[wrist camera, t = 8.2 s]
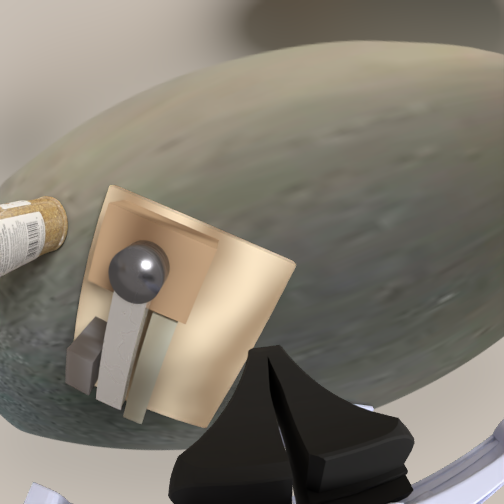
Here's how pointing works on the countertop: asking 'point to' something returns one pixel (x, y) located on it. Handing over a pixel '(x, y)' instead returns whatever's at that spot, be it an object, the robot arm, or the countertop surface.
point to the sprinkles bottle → (30, 231)
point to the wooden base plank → (177, 309)
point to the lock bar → (128, 314)
